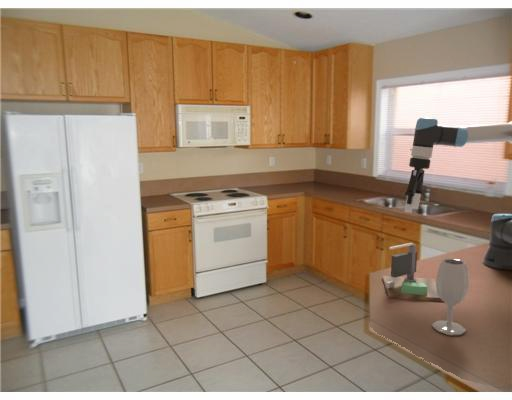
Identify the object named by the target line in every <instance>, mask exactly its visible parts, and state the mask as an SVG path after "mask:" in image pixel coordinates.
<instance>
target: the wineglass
mask: <svg viewBox="0 0 512 400" xmlns="http://www.w3.org/2000/svg"><path fill="white" fill-rule="evenodd" d="M440 262H441V263H440V264H439V266H438V270H437V273H436V277H435V278H436V280H435V282H436V290H437V294H438V296H439V297H440V298H441V299H442V300H443V301H444V302H443V301H442V302H443V303H445V305H447V313H446V320H436V321H435V322H433V323H432V324H431V327H433V329H435V330H436V331H437V332H439V333H441V334H445V335H447V336H450V337H451V336H462V335H463V334H464V333H466V332H467V329H466V328H465V327H464V326H462V325H461V324H460V323H457V322H455V321H453V313H454V312H453V310H454V307H456V305H458V304H460V303H461V302H463V301H464V300H465V299H466V296H467V294H468V292H469V286H470V285H469V283H470V282H469V281H470V280H469V271H468V270H469V269H468V267H467V266H468V265H467V263H466V262H465V261H463V260H461V259H459V258H458V259H457V258H444V259H441V261H440Z"/></svg>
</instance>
